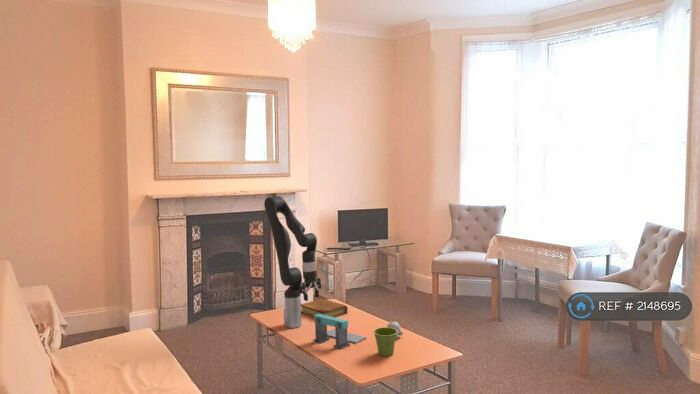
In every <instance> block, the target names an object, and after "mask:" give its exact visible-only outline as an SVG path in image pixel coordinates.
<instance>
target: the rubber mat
mask: <svg viewBox="0 0 700 394" xmlns="http://www.w3.org/2000/svg"><path fill="white" fill-rule="evenodd" d="M327 337H328V338H333V339H336V331H335V328H334V329H331V330H329V331H328V330H327ZM364 340H365V341H366V340H367V337H366V336H364V335H363V336H362V335H359V334H354V333H351V332H347V343H350V344H355V345H356V344H358V343H361V342H363V341H364Z"/></svg>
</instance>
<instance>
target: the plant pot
mask: <svg viewBox="0 0 700 394" xmlns="http://www.w3.org/2000/svg"><path fill="white" fill-rule="evenodd" d="M397 332H398V331H397V330H396V329H394V328H389V327H387V326H386V327H385V326H383V327H377V328H375V329H373V330H372V333H373V334H374V337H375V341H376V345H377V353H378V354H379V355H380V356H383V357H390V356H392V355H393V354H394V352H395V345H396V344H395V343H396V339H395V338H396V334H397Z"/></svg>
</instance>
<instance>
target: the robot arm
mask: <svg viewBox="0 0 700 394" xmlns="http://www.w3.org/2000/svg"><path fill="white" fill-rule="evenodd" d="M263 206H264V210H265V214H266V216H267V219H268V222H269V225H270V231H271V232H272V233H271V234H272V239H273V244H274V248H275V252H276V256H277V257H276V258H277V261H278V269H279V275H280V276H279V277H280V280H281V282H282V283H281V284H283V285H284V286H285V287H288V288H287V289H286V290H285V291H284V293H283V295H284V297H283V298H284V309H283V325H284V326H285V327H286V328H289V329H296V328H300V327H301V326H302V324H303V323H302V313H301V312H302V306H301V304H302V299H301V297H302V295H301V294H303V300H304V301H305V302H309V296H308V292H309V291H310V289H311V290H312V289H313V290H314V297H315V298H319V295H320V294H319V293H320V292H319V291H320V289H322V282H321V281H322V280H321V278H320V277H318V275H317V264H316V249H317V245H318V239H317V235H316V234H315V233H313V232H310V233H309V232H308V233H305V232H306V227H305V226H304V225H303V224H302V223H301V222H300V221H299V220H298V218H297V217H296V216H295V214H294V213H293V211H292V209H291V208H290V207H289V205H288V203H287V202H286V200H285V199H284V198H283V197H282V196H280V195H279V196H278V195H277V196H269V197H266V198H265V199H264V205H263ZM278 213H281V214H282V216H284V218H285V223H286V226H287V228H288V230H289V231H290V232H291V233H292V234H293V236H294V238H295V240H296V242H297V244H298V245H299V247H301V248H306V249H305V250H304V251H302V254H301V259H302V271H301V270H300V268H298V267H290V263H289V257H290V252H291V248H292V241H291V236H290V234H289V231H288V230H287V228H286V227H285V226H284V225H283V224H282V222H281V220H280V219H279V216H278ZM303 280H304V281H303Z"/></svg>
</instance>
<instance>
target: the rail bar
mask: <svg viewBox="0 0 700 394" xmlns="http://www.w3.org/2000/svg"><path fill="white" fill-rule="evenodd" d="M313 318H314V319H313V321H314V323H315V318H318V319H320V323H321V324H325V325H327V326H329V327H333V328H335V323H339V324H340V328H341V329H345V328H347V329H348V328H349V320H347V319H343V318H338V317H330V316H326V315H322V314H317V315H314V317H313Z"/></svg>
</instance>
